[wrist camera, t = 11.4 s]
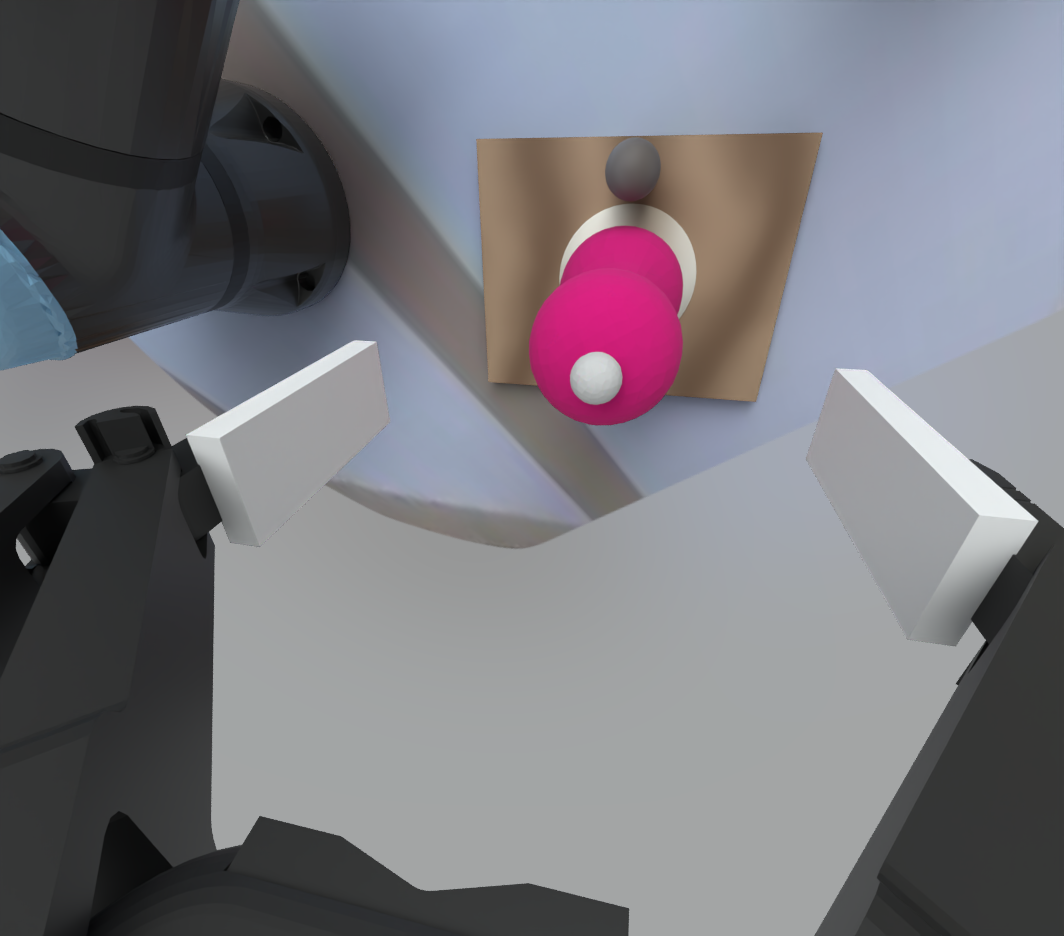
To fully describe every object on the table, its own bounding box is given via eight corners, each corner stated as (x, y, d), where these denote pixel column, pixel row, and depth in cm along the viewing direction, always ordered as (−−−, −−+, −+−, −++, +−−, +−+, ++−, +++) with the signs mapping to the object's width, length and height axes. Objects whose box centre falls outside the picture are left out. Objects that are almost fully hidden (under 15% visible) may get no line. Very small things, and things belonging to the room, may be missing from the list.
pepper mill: (693, 310, 33) (738, 448, 16) (593, 349, 35) (540, 503, 19) (659, 198, 30) (669, 223, 13) (553, 251, 33) (448, 326, 16)
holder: (493, 375, 40) (459, 417, 33) (483, 140, 32) (435, 129, 25) (752, 394, 36) (776, 445, 29) (815, 134, 28) (869, 119, 21)
